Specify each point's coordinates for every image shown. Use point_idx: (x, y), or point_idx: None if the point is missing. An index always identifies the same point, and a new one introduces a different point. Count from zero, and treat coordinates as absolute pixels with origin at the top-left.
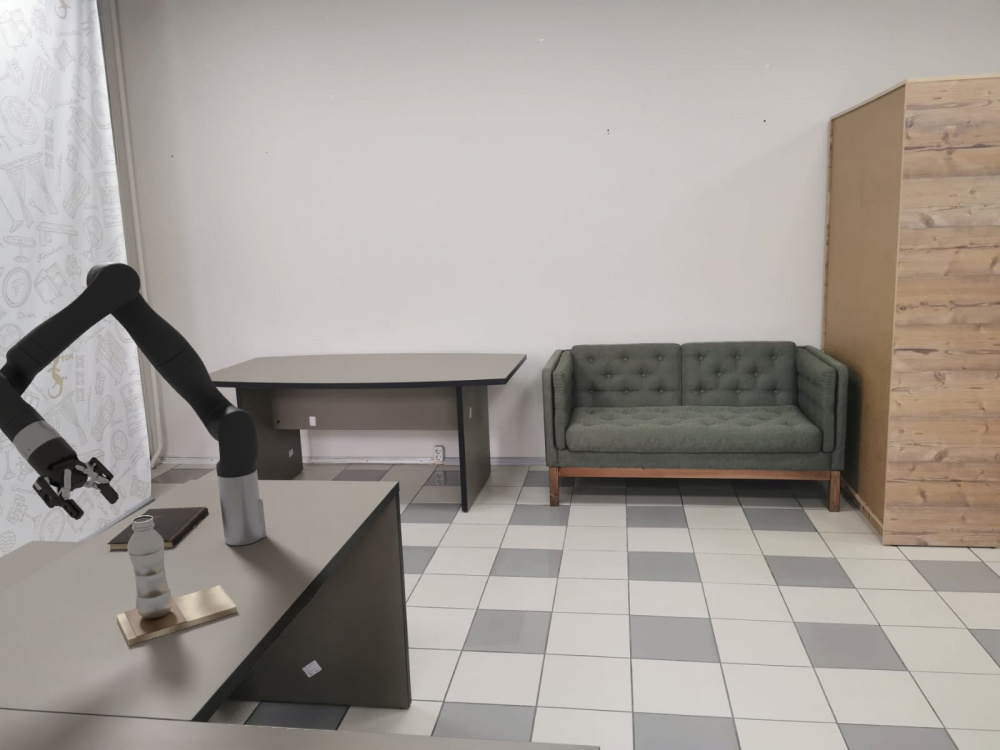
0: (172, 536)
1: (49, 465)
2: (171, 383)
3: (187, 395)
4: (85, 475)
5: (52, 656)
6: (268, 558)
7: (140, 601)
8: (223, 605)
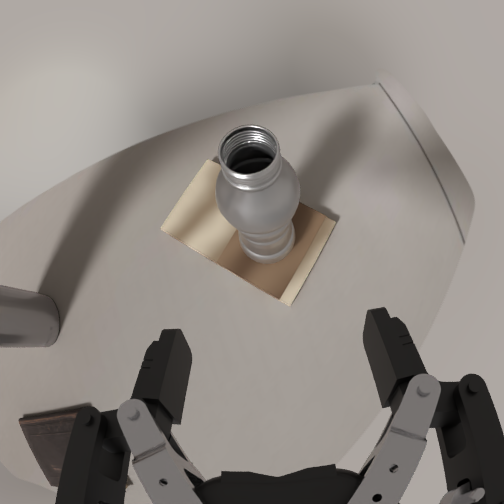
0: (73, 417)
1: None
2: None
3: None
4: (203, 501)
5: (394, 304)
6: (77, 242)
7: (293, 230)
8: (210, 175)
